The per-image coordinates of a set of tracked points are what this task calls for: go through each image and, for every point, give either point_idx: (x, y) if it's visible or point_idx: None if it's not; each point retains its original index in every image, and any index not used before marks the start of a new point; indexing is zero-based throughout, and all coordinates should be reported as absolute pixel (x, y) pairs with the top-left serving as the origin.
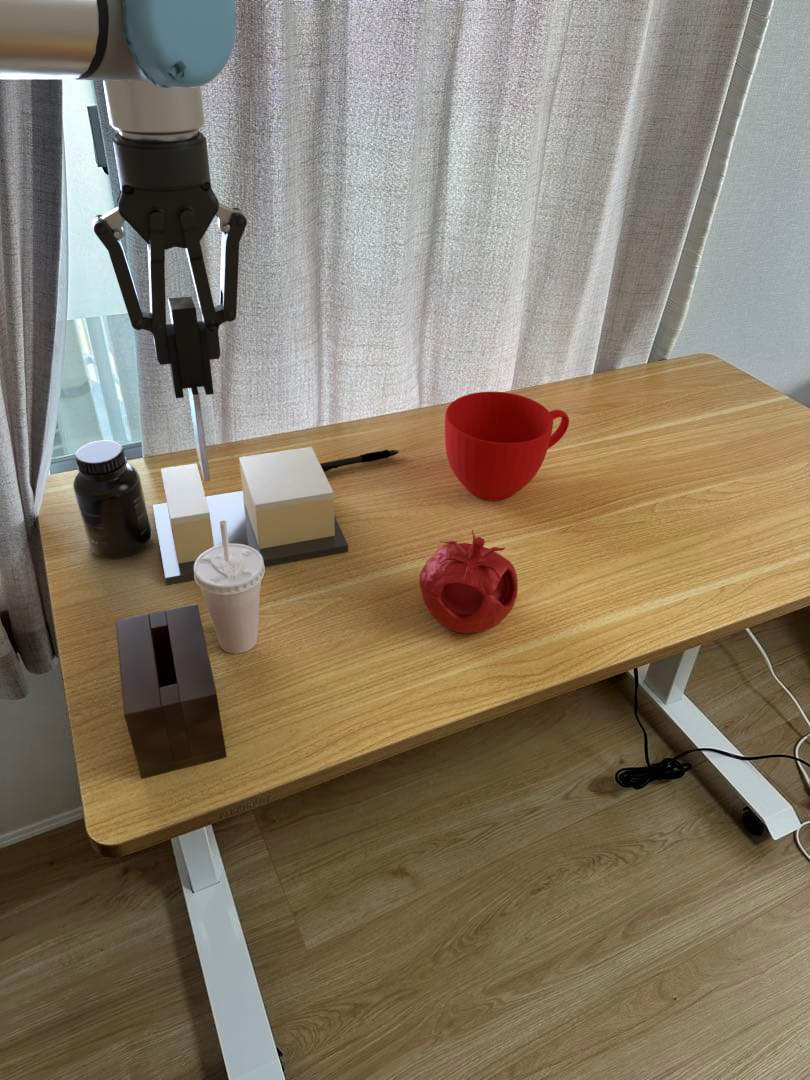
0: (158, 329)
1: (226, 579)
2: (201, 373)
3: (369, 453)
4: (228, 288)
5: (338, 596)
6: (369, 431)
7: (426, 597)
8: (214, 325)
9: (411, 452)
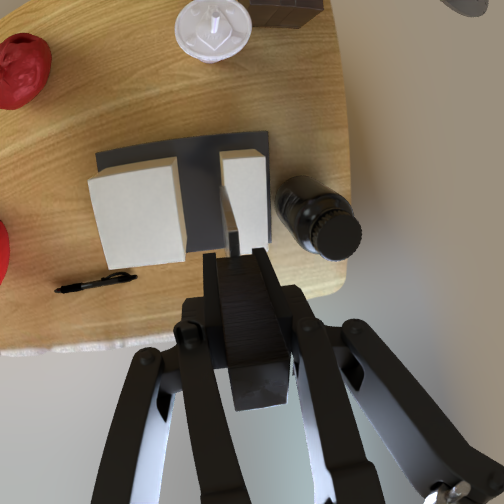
0: (313, 322)
1: (219, 5)
2: (221, 270)
3: (74, 289)
4: (136, 412)
5: (115, 90)
6: (81, 326)
7: (46, 50)
8: (184, 334)
9: (47, 292)
